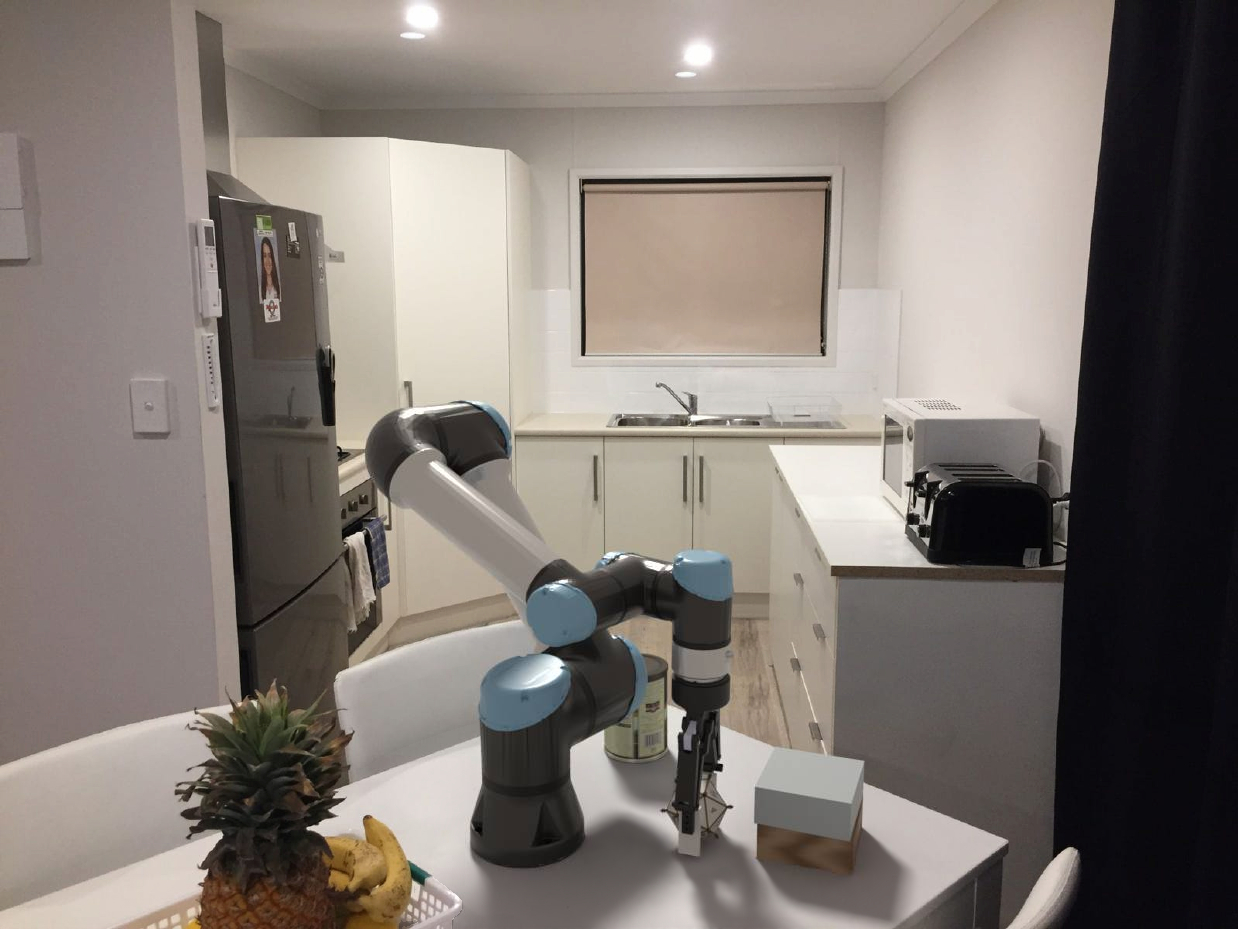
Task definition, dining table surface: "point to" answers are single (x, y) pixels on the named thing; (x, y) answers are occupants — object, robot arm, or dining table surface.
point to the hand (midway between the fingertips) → (697, 834)
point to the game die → (704, 808)
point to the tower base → (809, 848)
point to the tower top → (809, 793)
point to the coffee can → (643, 721)
